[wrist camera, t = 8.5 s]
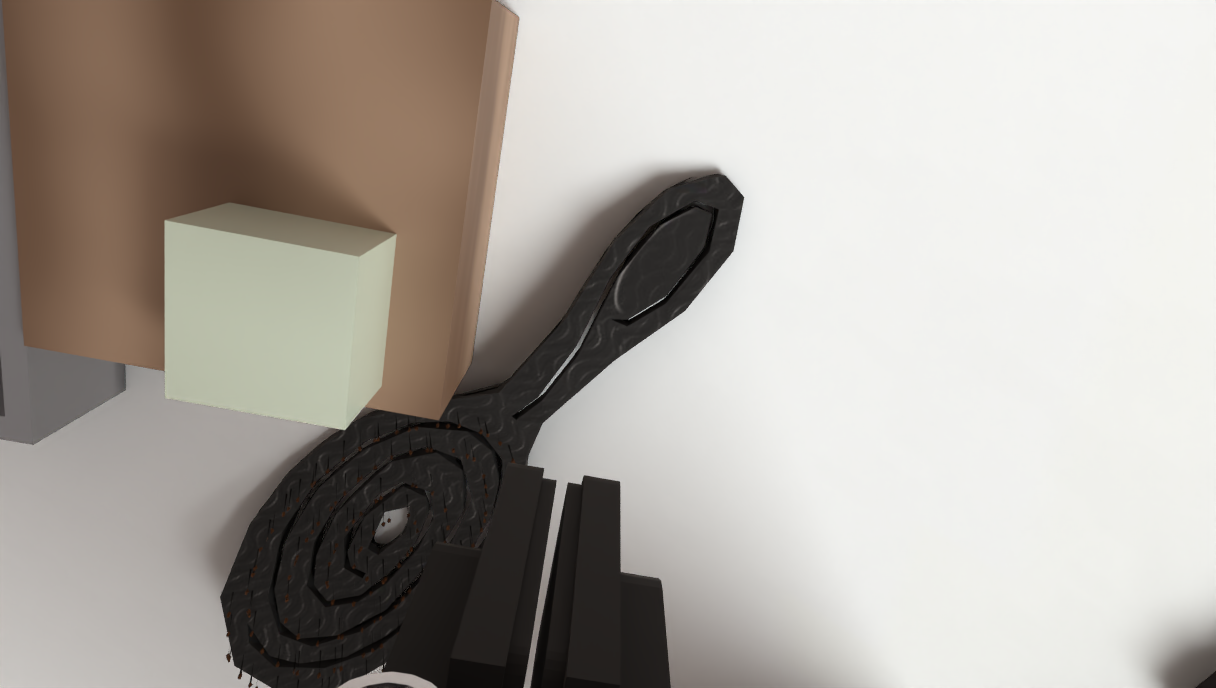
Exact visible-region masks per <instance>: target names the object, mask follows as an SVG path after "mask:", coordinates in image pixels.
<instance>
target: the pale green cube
mask: <svg viewBox="0 0 1216 688" xmlns="http://www.w3.org/2000/svg"><path fill="white" fill-rule="evenodd" d="M396 236H397V234H394V233H389V232H384V231H378V230H373V229H368V228H362V227H357V226H352V225H347V224H341V223H336V222H331V221H325V220H320V219H315V218H310V217H304V216H299V215H294V214H288V213H283V212H278V211H272V210H267V209H262V208H257V207H251V206H246V205H241V204H235V203H230V202H229V203H226V204H222V205H219V206H215V207H211V208H208V209H204V210H200V211H197V212H193V213H189V214H186V215H182V216H178V217H175V218H171V219H167V220H165V398H167V399H172V400H178V401H184V402H189V403H195V404H201V405H206V406H212V407H217V408H223V409H229V410H234V411H240V412H245V413H251V414H257V415H262V416H268V417H274V418H279V419H285V420H290V421H296V422H302V423H307V424H313V425H318V426H324V427H330V428H335V429H341V430H346V428H347V427H348V426H349V425H350V424H351V422H352V421H353V420H354V419H355V418H356V416H357V415H358V414H359V413H360V412H361V410H362V409H363V408H364V407H365V406H366V404H367V403H368V402H369V401H370V400H371V398H372V397H373V396H374V395H375V394H376V392H377V391H378V390H379V389H380V388H381V386H382V378H383V367H384V357H385V347H386V337H387V327H388V317H389V307H390V296H391V286H392V276H393V266H394V256H395V246H396Z"/></svg>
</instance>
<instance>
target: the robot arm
mask: <svg viewBox="0 0 1216 688" xmlns="http://www.w3.org/2000/svg"><path fill="white" fill-rule="evenodd" d="M543 472H544V468H538V467H533V466H527V465H521V464H515V463H510V462H508V464H507V467H506V470H505V474H504V477H503V481H502V484H501V487H500V491H499V494H498V498H497V501H496V504H495V508H494V511H493V515H492V518H491V521H490V525H489V528H488V532H487V535H486V539H485V542H484V545H483V549H479V548H473V547H467V546H461V545H455V544H449V543H443V542H436V543H435V544H434V546H433V548H432V551H431V553H430V556H429V558H428V561H427V563H426V566H425V568H424V571H423V573H422V576H421V578H420V581H419V583H418V586H417V588H416V590H415V593H414V595H413V598H412V600H411V603H410V605H409V608H408V610H407V613H406V615H405V618H404V620H403V623H402V625H401V628H400V630H399V633H398V635H397V638H396V640H395V643H394V645H393V648H392V650H391V653H390V655H389V658H388V660H387V663H386V665H385V668H384V670H383V673H371V674H368V675H364V676H361V677H358V678H355V679H352V680H349V681H348V682H346V683H344V684H343V685H341V686H339V687H338V688H523V687H524V682H525V676H526V670H527V664H528V659H529V652H530V646H531V640H532V634H533V627H534V621H535V615H536V608H537V602H538V596H539V589H540V583H541V577H542V570H543V564H544V558H545V551H546V545H547V539H548V532H549V526H550V520H551V513H552V507H553V501H554V494H555V488H556V480H551V479H545V478H543ZM531 688H671V685H670V674H669V662H668V650H667V638H666V626H665V615H664V603H663V591H662V584H661V580H660V579H659V578H653V577H647V576H641V575H635V574H629V573H623V572H620V482H619V481H614V480H608V479H602V478H596V477H591V476H585V475H584V477H583V481H582V485H580V484H574V483H568V485H567V490H566V495H565V500H564V506H563V511H562V516H561V521H560V526H559V532H558V537H557V542H556V547H555V552H554V558H553V563H552V568H551V573H550V578H549V584H548V589H547V594H546V599H545V604H544V610H543V615H542V620H541V625H540V631H539V636H538V642H537V648H536V654H535V661H534V667H533V674H532V681H531Z"/></svg>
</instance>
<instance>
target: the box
mask: <svg viewBox="0 0 1216 688" xmlns="http://www.w3.org/2000/svg"><path fill="white" fill-rule="evenodd" d="M125 390H126V388H125V364H123V363H117V362H111V361H106V360H100V359H95V358H89V357H84V356H78V355H72V354H67V353H61V352H56V351H50V350H45V349H39V348H33V347H28V346H24V338H23V323H22V307H21V291H20V276H19V260H18V244H17V229H16V213H15V198H14V182H13V166H12V151H11V135H10V119H9V104H8V88H7V72H6V57H5V41H4V26H3V10H2V0H0V439H3V440H9V441H15V442H20V443H26V444H32V445H34V444H35V443H37V442H39V441H40V440H42V439H44V438H45V437H47V436H49V435H50V434H52V433H54V432H56V431H57V430H59V429H61V428H62V427H64V426H66V425H67V424H69V423H71V422H72V421H74V420H76V419H77V418H79V417H81V416H83V415H84V414H86V413H88V412H89V411H91V410H93V409H94V408H96V407H98V406H99V405H101V404H103V403H105V402H106V401H108V400H110V399H111V398H113V397H115V396H116V395H118V394H120V393H121V392H123V391H125Z"/></svg>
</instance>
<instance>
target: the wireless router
mask: <svg viewBox="0 0 1216 688" xmlns="http://www.w3.org/2000/svg"><path fill="white" fill-rule="evenodd" d="M1195 688H1216V672H1214V673H1213V674H1212V675H1211V676H1209V677H1208V678H1207V679H1206V680H1204V681H1203V682H1202V683H1201V684H1199V685H1198V686H1197V687H1195Z"/></svg>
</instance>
